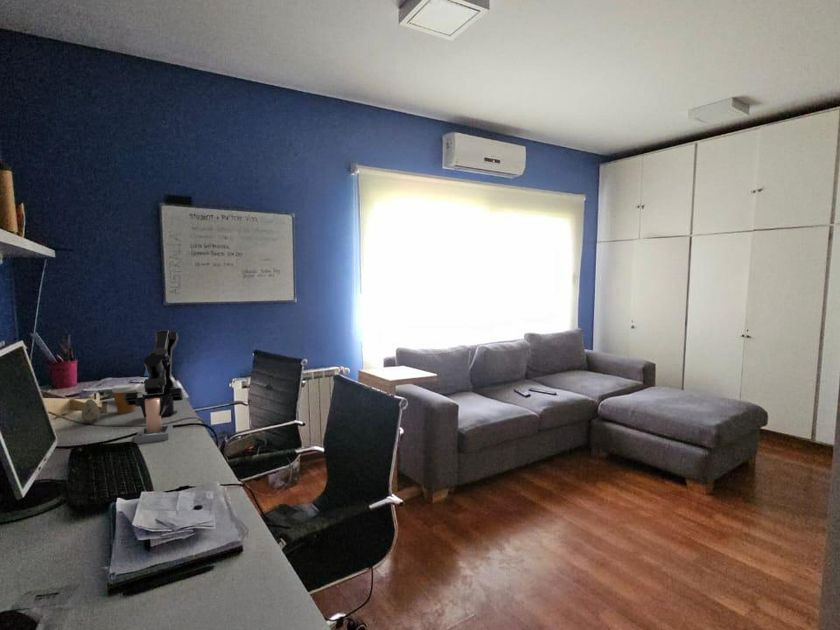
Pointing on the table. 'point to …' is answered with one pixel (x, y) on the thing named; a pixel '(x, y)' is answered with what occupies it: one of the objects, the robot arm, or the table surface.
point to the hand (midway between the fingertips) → (152, 416)
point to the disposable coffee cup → (119, 396)
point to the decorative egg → (90, 411)
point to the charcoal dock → (163, 435)
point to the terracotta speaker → (153, 415)
